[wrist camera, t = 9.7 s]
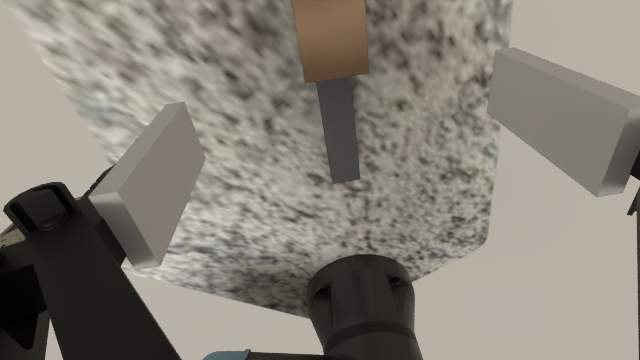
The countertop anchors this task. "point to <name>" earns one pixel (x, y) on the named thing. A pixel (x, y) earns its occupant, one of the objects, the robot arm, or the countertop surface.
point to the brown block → (331, 38)
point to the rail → (339, 128)
